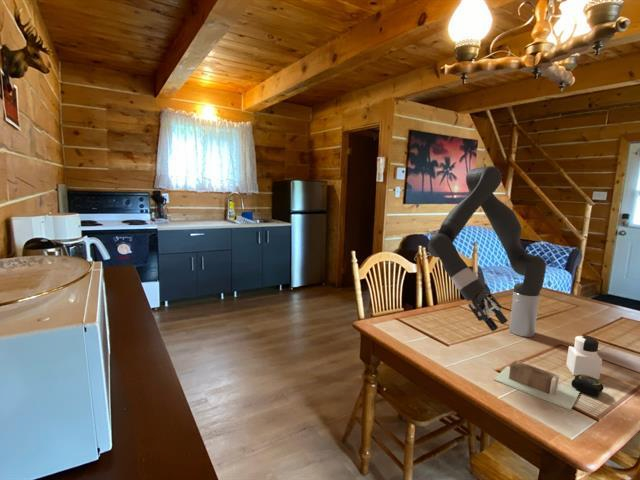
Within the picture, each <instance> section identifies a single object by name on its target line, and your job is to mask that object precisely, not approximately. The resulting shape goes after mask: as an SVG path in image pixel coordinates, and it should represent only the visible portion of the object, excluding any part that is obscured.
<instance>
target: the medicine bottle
mask: <svg viewBox="0 0 640 480" xmlns="http://www.w3.org/2000/svg"><path fill="white" fill-rule="evenodd" d="M598 348H599V341H598V340H597V339H595V338H593V337H591V336H588V335H587V336H586V335H577V336H575V338H574V346H571V345H569V346H568V350H567V357H566V364H565V365H567V366H566V367H567V368H568V370H569V372H572V373H571V374H572V375H573V376H574V375H587V376H591V377H594V378H596V379H599V380H600V379H601V371H602V365H603V359H602V357H601V356H600V355H599V354H598V350H599V349H598Z"/></svg>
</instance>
